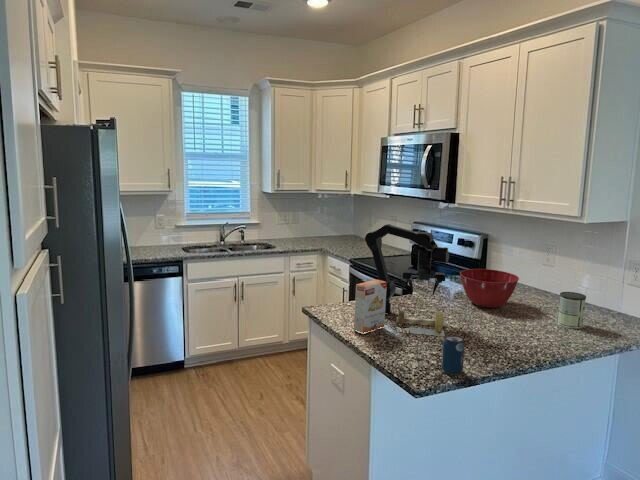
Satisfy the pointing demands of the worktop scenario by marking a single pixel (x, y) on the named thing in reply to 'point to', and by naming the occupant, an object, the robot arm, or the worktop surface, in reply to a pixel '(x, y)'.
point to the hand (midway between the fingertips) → (422, 294)
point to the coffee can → (571, 309)
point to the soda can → (453, 355)
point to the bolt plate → (427, 331)
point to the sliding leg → (438, 320)
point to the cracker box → (370, 305)
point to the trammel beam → (414, 320)
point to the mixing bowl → (488, 286)
